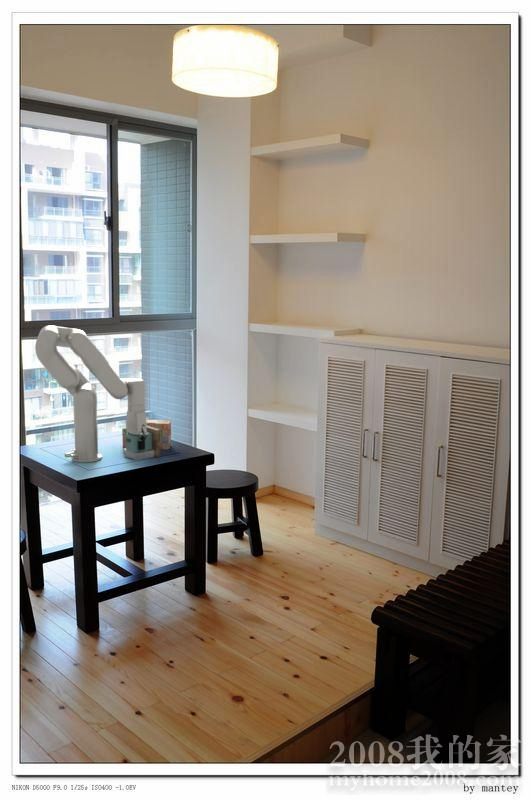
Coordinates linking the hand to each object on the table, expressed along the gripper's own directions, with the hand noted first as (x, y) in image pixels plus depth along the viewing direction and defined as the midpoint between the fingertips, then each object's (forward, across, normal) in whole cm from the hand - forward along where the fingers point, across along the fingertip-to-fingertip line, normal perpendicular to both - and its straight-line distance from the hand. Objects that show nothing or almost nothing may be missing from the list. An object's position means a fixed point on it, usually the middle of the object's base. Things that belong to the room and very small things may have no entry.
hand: (137, 447), depth 326 cm
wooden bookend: (+4, 0, +2) cm, 4 cm away
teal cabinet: (+1, 0, +1) cm, 1 cm away
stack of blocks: (+4, -11, +12) cm, 17 cm away
